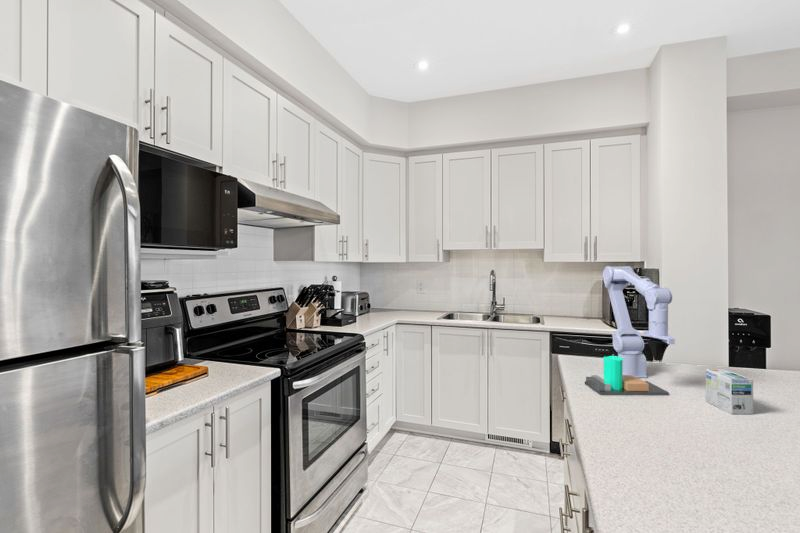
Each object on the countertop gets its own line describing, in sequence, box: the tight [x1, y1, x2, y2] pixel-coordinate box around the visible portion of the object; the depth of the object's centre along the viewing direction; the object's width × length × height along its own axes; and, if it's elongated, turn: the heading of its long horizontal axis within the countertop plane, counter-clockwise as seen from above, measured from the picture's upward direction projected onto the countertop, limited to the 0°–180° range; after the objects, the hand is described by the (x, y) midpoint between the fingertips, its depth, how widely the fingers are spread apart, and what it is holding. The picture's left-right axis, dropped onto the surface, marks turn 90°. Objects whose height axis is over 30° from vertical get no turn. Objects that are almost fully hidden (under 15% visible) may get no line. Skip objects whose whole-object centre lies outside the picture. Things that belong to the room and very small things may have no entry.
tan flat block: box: [622, 375, 649, 391], centre depth 140 cm, size 7×10×2 cm
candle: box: [603, 355, 623, 390], centre depth 139 cm, size 6×6×12 cm
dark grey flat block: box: [584, 375, 670, 396], centre depth 140 cm, size 23×12×4 cm, turn 89°
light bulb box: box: [705, 368, 754, 415], centre depth 122 cm, size 11×7×11 cm, turn 179°
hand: (657, 360), depth 139 cm, fingers closed
